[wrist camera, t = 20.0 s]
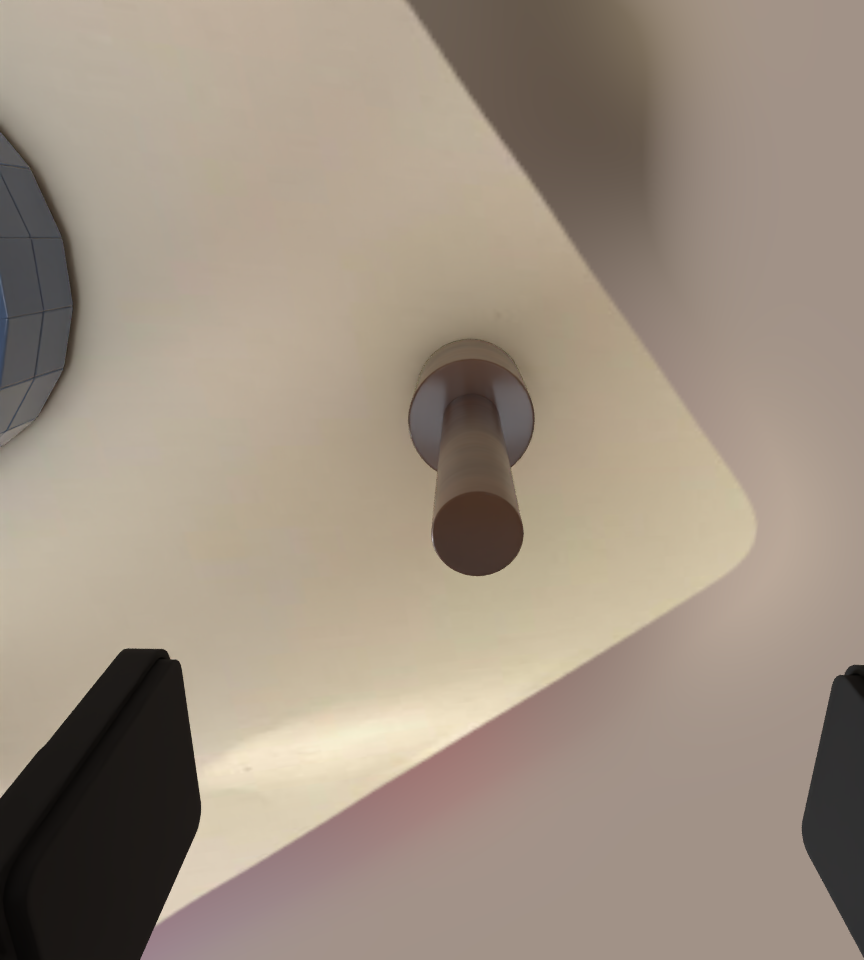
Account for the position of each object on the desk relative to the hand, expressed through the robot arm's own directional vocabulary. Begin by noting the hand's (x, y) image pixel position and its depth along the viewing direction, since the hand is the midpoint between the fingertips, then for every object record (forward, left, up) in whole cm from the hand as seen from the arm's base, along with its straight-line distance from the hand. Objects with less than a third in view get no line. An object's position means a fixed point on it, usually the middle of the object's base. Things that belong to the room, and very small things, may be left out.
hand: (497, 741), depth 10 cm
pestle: (-1, 0, -21) cm, 21 cm away
